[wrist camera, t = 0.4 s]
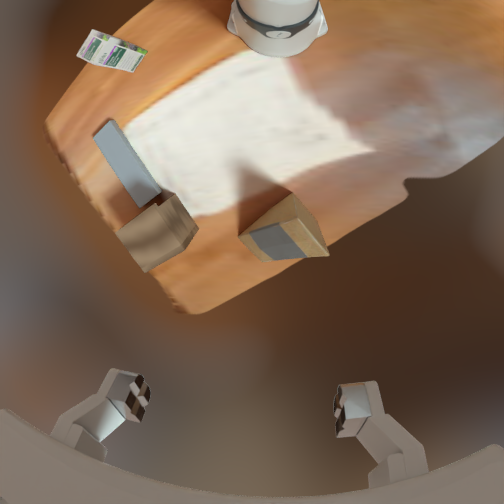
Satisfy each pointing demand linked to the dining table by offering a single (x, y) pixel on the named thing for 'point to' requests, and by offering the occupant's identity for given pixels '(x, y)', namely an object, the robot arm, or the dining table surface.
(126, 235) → the open wooden box
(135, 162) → the panel
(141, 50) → the syrup box
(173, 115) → the dining table surface
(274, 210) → the sandwich container
